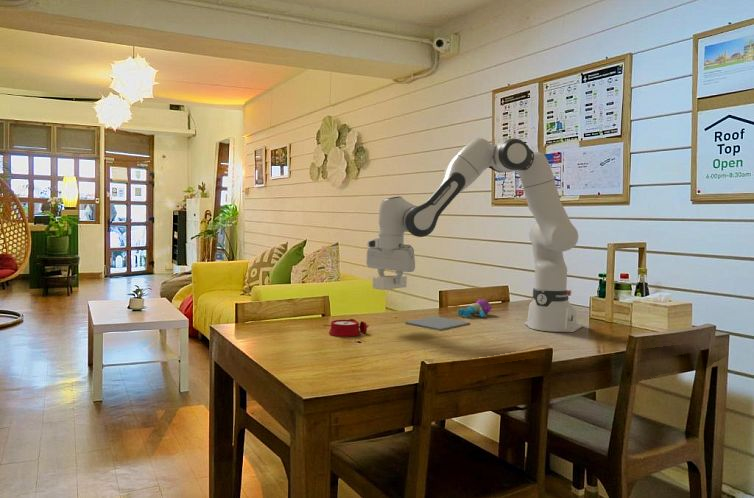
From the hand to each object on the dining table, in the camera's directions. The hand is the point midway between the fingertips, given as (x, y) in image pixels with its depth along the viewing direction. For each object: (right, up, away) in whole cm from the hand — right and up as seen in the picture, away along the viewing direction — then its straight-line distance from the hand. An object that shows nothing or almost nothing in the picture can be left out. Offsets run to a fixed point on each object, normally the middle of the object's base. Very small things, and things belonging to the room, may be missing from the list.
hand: (389, 282), depth 208 cm
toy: (+35, -15, +29) cm, 48 cm away
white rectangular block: (0, -2, 0) cm, 2 cm away
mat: (+18, -16, +10) cm, 26 cm away
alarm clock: (-14, -17, -9) cm, 24 cm away
